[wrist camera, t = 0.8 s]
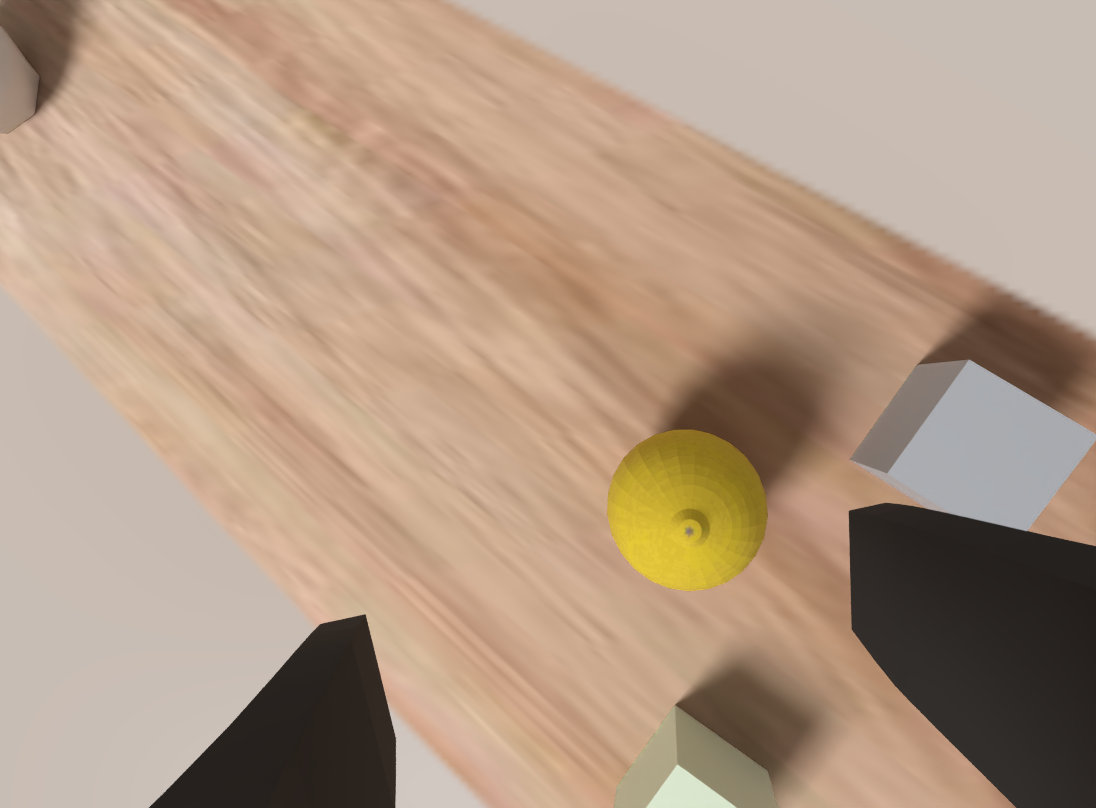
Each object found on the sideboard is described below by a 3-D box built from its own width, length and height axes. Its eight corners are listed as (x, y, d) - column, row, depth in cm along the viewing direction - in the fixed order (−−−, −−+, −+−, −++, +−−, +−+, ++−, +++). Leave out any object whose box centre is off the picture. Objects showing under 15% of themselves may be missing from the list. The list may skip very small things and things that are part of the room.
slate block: (1021, 427, 25) (1098, 435, 21) (950, 523, 26) (1011, 551, 21) (915, 364, 26) (969, 359, 21) (848, 459, 26) (887, 473, 22)
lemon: (613, 425, 28) (594, 440, 20) (748, 422, 27) (785, 436, 19) (616, 555, 28) (599, 621, 20) (752, 556, 27) (790, 627, 19)
